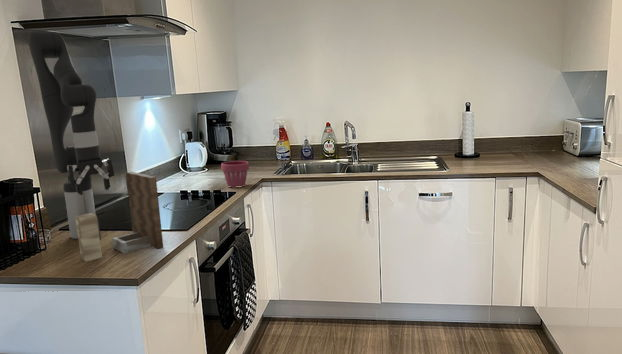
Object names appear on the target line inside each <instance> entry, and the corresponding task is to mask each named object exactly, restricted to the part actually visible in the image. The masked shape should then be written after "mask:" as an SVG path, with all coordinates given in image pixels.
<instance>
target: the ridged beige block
mask: <svg viewBox="0 0 622 354" xmlns="http://www.w3.org/2000/svg"><path fill="white" fill-rule="evenodd" d="M95 214H96V213H95ZM95 214H93V213H90V214H85V215H80V216H75V219H76V226H77V233H78V246H79V253H80V259H81V260H82V261H83V262H85V263H88V262H90V261H94V260H98V259H102V258H103V254H102V247H101V241H102V235H101V229H100V228H101V227H100V221H99V218H98V217H97V214H96V215H95Z"/></svg>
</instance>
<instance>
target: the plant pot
mask: <svg viewBox="0 0 622 354" xmlns="http://www.w3.org/2000/svg"><path fill="white" fill-rule="evenodd" d="M220 166H221V171H222V172H223V175H224V178H225V181H226V185H227V187H228V186H231V187H236V186H243V185H245V186H246V181H247V176H248V171H249V170H250V163H249V162H248V161H247V160H231V161H223V162H221V165H220Z"/></svg>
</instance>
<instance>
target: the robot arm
mask: <svg viewBox="0 0 622 354" xmlns="http://www.w3.org/2000/svg"><path fill="white" fill-rule="evenodd" d="M27 41H28V47H29V51H30V55H31V59H32V62H33V64H34V68H35V71H36V74H37V79H38V85H39V90H40V94H41V98H42V99H41V100H42V104H43V109H44V112H45V113H44V114H45V116H46V120H47V123H48V129H49V133H50V134H49V135H50V139H51V146H52V154H53V159H54V163H55V167H56V169H57V171H58V173H60V174H67V180H68V181H66V182H64V183H63V185H62V187H63V192H64V193H63V195H64V200H65V207H66V213H67V221H68V228H69V234H70V235H69V236H70V239H75V240H77V239H78V233H77V226H76V219H75V216H80V215H85V214H90V213H93V214H95V215H97V214H96V208H95V201H94V193H93V185H92V176H91V175H97V174H98V175H100V176H101V177H102V178H103V179H102V180H103V186H104V190H105V191H108V190H109V189H110V188H111V183H110V178H112V177H114V176H115V172H114V171H115V170H114V168H113V162H112V160H111V159H109V158H106V159H103V160H102V157H101V150H100V144H99V143H100V142H99V138H98V133H97V130H96V123H95V108H96V102H97V92H96V90H95V88H94V87H93V86H92V85H91V84H84V83H83V80H82V77H81V76H80V75H79V73H78V71H77V70H76V68H75V66H74V63H73V61H72V58H71V55H70V51H69V49H68V45H67V44H66V41H65V39H64V37H63V36H62V34H60V33H58V32H56V31H55V32H54V31H31V32H29V34H28V40H27ZM46 59H57V61H56V62H55V64H54V66H53V71H52V69H51V68H50V67H49V65H48V63H47V60H46ZM76 107H77V108H78V107H84V108H83V111H82V112H80V113H75V114H73V113H74V108H76ZM69 122H70V125H71V129H72V130H71V131H72V140H73V145H71V146H70V145H69V146H65V145H64V135H65V132H66V129H67V127H68V124H69ZM103 165H104V166H105V167H106V169H107V173H106V172H105V171H104V170H103V169H102V167H103ZM74 172H75V173H76V172H77V173H76V175H75V177H74Z"/></svg>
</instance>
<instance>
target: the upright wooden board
mask: <svg viewBox="0 0 622 354" xmlns="http://www.w3.org/2000/svg"><path fill="white" fill-rule="evenodd" d="M125 179H126V187H127V188H126V189H127V195H128V205H129V212H130V221H131V230H132V232H131V233H128V234H124V235H123V234H122V235H120V236H116V237H112V246H113V249H114V250H117V251H119V252H121V253H122V254H125V255H126V254H128V253H131V252H136V251H139V250H143V249H146V248H149V247H152V248H154V249H157V250H159V249H163V248H164V239H163V233H162V223H161V221H162V220H161V211H160V204H159V194H158V184H157V183H158V182H157V177H156V176H153V175H148V174H146V173H145V174H144V173H139V172H136V171H126V172H125Z"/></svg>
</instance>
